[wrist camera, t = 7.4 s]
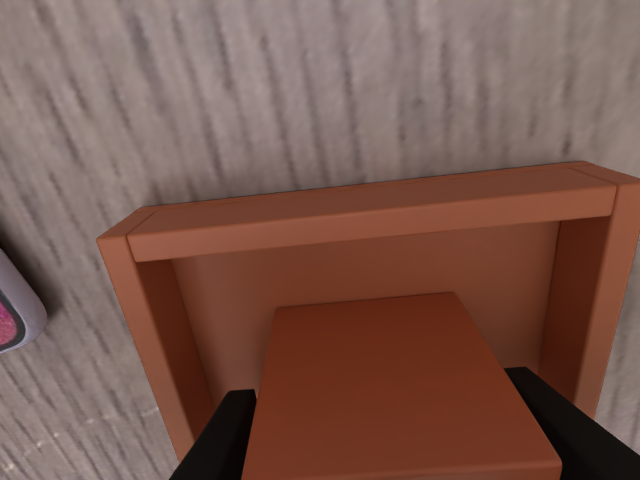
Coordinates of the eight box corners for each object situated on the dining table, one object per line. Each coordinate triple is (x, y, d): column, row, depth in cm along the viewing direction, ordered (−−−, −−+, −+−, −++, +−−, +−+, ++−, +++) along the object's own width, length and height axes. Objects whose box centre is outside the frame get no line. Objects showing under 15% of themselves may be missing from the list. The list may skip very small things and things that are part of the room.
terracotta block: (298, 434, 11) (284, 644, 7) (274, 307, 9) (237, 486, 5) (450, 423, 11) (529, 632, 7) (455, 290, 9) (566, 463, 5)
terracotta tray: (228, 490, 13) (212, 555, 11) (139, 206, 9) (93, 238, 7) (532, 469, 12) (567, 533, 11) (584, 160, 8) (654, 181, 7)
